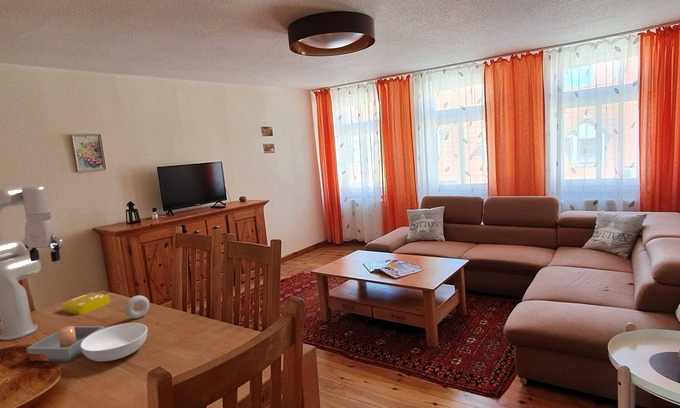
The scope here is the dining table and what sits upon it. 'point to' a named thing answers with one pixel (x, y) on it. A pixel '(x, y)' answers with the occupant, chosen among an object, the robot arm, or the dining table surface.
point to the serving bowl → (114, 342)
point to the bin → (57, 354)
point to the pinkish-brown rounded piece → (67, 336)
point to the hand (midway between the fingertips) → (45, 260)
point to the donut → (139, 313)
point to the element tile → (85, 303)
